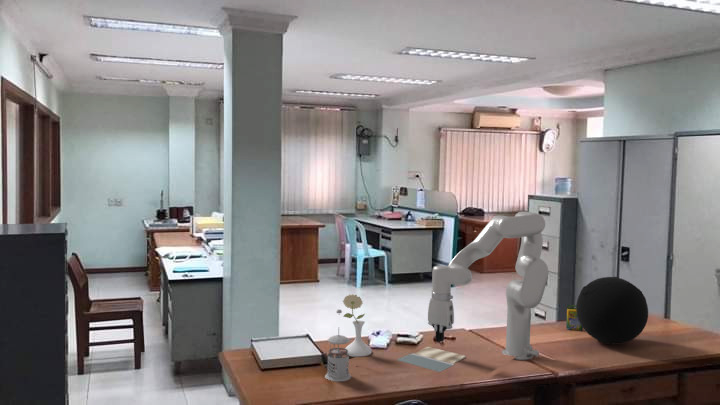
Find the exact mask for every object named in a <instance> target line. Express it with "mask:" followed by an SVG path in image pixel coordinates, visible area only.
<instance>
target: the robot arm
mask: <svg viewBox="0 0 720 405" xmlns="http://www.w3.org/2000/svg"><path fill="white" fill-rule="evenodd" d="M545 228H546V220H545V219H544V216H542V215H541V214H539V213H536V212H531V211H518V212H517V213H516V214H515V215H514V216H507V215H506V216H505V215H494V216H493V217H492V218H491V219H490V220H489V221H488V223H487V224H486V225H485V227H483V229H482V230H480V232H479V234H478V235H477V236H476V237H475V238H474V240H473V241H472V242H470V243H469V244H467V245H466V246H465V247H464V248H463V249H461V250H460V251H459V252H458V253H456V255H455V256H454V258H452V260H451V261H450V262H449V264H448V265H441V264H439V265H434V266H433V268H432V270H431V272H432V276H431V277H432V279H431V298H430V299H429V303H428V308H427V310H428V311H427V321H428V323H427V324H428V325H429V326H431V327H432V328H433V329H434V332H435V342H437V343H441V342H443V341H444V339H445V332H446V331H447V330H452V329H453V325H454V323H455V313H454V304H453V298H454V295H452V293H451V292H452V291H451V290H452V287H451V286H452V285H456V286H466V285H468V284H470V282H471V281H472V279H473V274H472V272H471V270H470V269H469V267H470V266H471V265H472V264H473V263H474V262H475V261H477V260H480V259H483V258H485V257H488V256H489V255H491V254H492V252H494V250H495V249H496V248H497V247H498V245H499V244H500V243H501V242H502V241H503V240H504V238H505V239H517V238H521V241H520V247H519V250H518V251H519V252H518V256H517V259H516V262H515V267H514V268H515V271H516V273H517V275H518V276H521V278H523V279H513V280H511V281H510V282H509V283H508V284H507V287H506V289H505V296H506V310H507V311H506V312H507V313H506V334H505V335H506V336H505V337H506V339H505V349H503V350H501V354H503V355H506V356H511V357H514V358H513V360H516V361H517V360H518V361H527V360H528V361H529V360H531V359H533V358H534V357H539V355H540V351H539V350H538V349H533V345H531V323H532V322H531V321H532V320H531V319H532V310H531V309H534V308H536V307H537V306H538V305H539V304H540V303H541V302H542V299H543V296H544V292H545V289H546V284H547V281H548V278H549V267H548V264H547V263H546V262H545V260H543V259H542V258H541V256H542V251H543V244H544V239H543V234H542V232H543V231H544V230H545Z"/></svg>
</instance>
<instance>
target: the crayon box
mask: <svg viewBox="0 0 720 405" xmlns="http://www.w3.org/2000/svg"><path fill="white" fill-rule="evenodd" d="M566 307H567V308H566V327H565V328H566V330H568V331H569V330H570V331H571V330H572V331H583V330H584V329H583V327H582V326H581V324H580V322H579V320H578V317H577V312H576V305H573V304H567V306H566Z"/></svg>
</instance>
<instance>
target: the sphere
mask: <svg viewBox="0 0 720 405" xmlns="http://www.w3.org/2000/svg"><path fill="white" fill-rule="evenodd" d="M575 308H576V312H577V317H578V320H579V322H580V324H581V326H582V327H583V330H584V331H585V332H586V334H588V335H589V336H590V337H591V338H593V339H595V340H596V341H598V342H600V343H602V344H604V345H605V344H606V345H620V344H621V345H622V344H625V343H628V342H631V341H632V340H634V339H636V338H637V337H639V335H641V334H642V332H643V331H644V329H645V327H646V326H647V323H648V318H649V308H648V303H647V299H646V296H644V293H643V291H642V290H640V288H638V287H637V286H636V285H634V284H633V283H631V282H630V281H628V280H625V279H624V278H620V277H618V276H605V277H600V278H599V277H598V278H596V279H594V280H592V281H590V282H589V283H587V284H586V285H584V286H583V287H582V288H581V290H580V292H579V295H578V297H577V301H576V306H575Z"/></svg>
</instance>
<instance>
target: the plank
mask: <svg viewBox="0 0 720 405" xmlns="http://www.w3.org/2000/svg"><path fill="white" fill-rule="evenodd" d="M413 354H417V355H420V356H424V357H428V358H432V359H436V360H440V361H443V362H447V363H451V364H455V363H457V362H460V361H462V360H463V359H465V358H466V355H463V354H460V353H456V352H451V351H448V350H443V349H439V348H435V347H431V346H426V347H424V348H422V349H420V350H418V351H416V352H414V353H413Z"/></svg>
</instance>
